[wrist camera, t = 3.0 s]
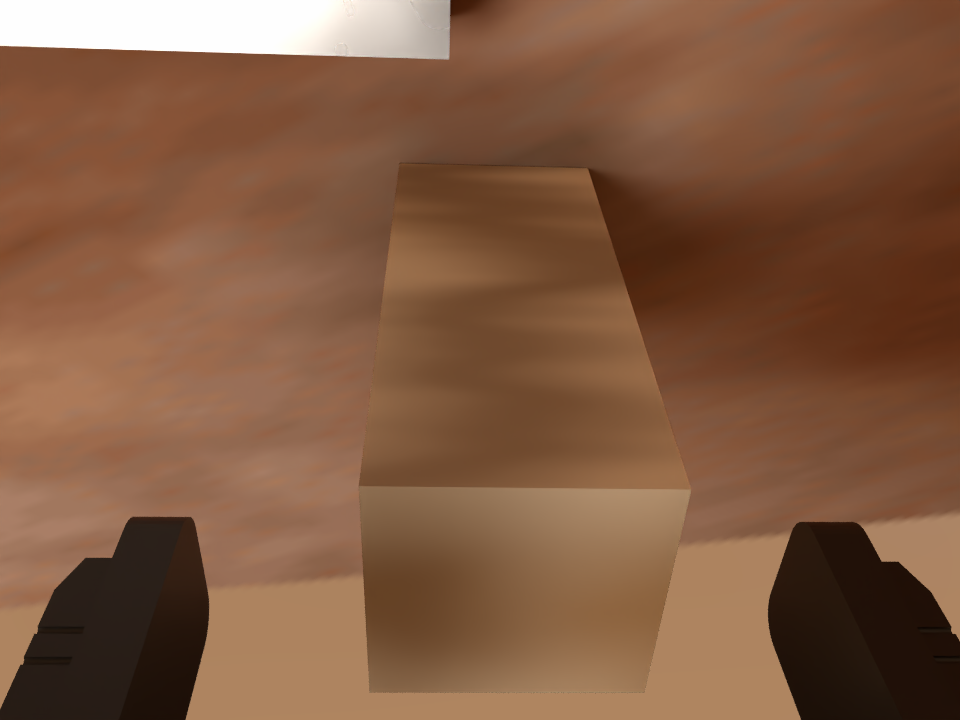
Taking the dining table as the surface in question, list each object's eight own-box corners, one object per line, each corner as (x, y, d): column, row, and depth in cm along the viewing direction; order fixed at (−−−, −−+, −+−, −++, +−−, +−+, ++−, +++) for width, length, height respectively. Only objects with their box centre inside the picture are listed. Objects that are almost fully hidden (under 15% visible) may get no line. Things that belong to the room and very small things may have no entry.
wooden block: (587, 167, 19) (691, 489, 11) (570, 326, 21) (644, 692, 13) (399, 163, 19) (358, 486, 11) (401, 323, 21) (369, 692, 13)
